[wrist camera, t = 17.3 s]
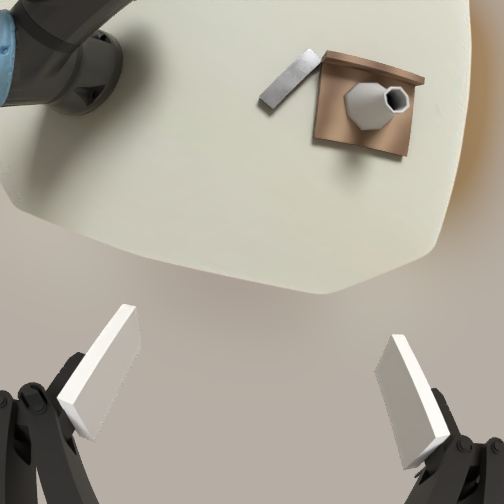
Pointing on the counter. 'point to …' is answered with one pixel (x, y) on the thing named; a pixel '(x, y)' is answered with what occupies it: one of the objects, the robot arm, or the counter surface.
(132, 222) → the counter surface
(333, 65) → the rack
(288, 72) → the grey rectangular bar
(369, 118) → the flask
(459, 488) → the robot arm
